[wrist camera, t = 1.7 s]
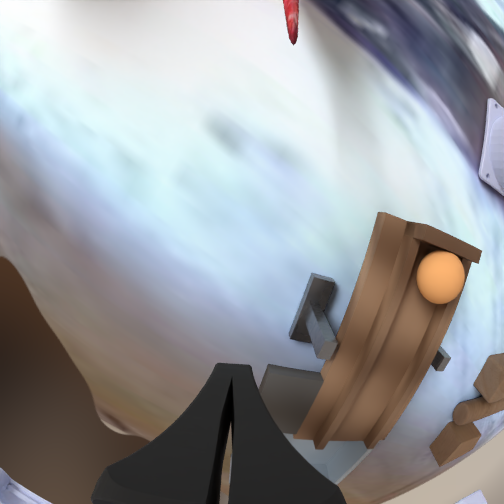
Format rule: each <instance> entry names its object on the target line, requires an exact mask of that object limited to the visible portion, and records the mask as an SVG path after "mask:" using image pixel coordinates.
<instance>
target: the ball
mask: <svg viewBox="0 0 504 504" xmlns="http://www.w3.org/2000/svg"><path fill="white" fill-rule="evenodd" d="M464 279H465V273H464V268H463V265H462V263H461V261H460V260H459V258H458V257H457V256H456V255H455V254H453V253H451V252H449V251H446V250H436V251H433V252H431V253H429V254H428V255H426V256H425V257H424V258H423V260H422V261H421V263H420V265H419V267H418V270H417V276H416V280H417V286H418V289H419V291H420V293H421V294H422V295H423V297H424V298H426V299H427V300H428V301H430V302H432V303H435V304H444V303H448V302H450V301H452V300H453V299H454V298H456V297H457V296H458V294H459V293H460V291H461V290H462V287H463V284H464Z"/></svg>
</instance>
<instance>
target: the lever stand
mask: <svg viewBox="0 0 504 504" xmlns="http://www.w3.org/2000/svg"><path fill="white" fill-rule="evenodd" d="M334 285H335V281H334V280H333V279H332V278H329V277H325V276H322V275H318V274H314V273H311V276H310V279H309V281H308V284H307V287H306V290H305V292H304V295H303V298H302V300H301V303H300V306H299V308H298V311H297V313H296V316H295V319H294V321H293V324H292V326H291V329H290V331H289V337H290V339H293V340H298V341H303V342H308V343H310V342H311V341H312V344H313V347H314V350H315V354H316V357H317V358H320V359H326V360H330V358H331V356H332V354H333V352H334V350H335V348H336V346H337V344H338V342H337V340H336V338H335V336H334V334H333V332H332V329H331V327H330V325H329V323H328V321H327V319H326V317H325V314H324V310H325V307H326V305H327V302H328V300H329V297H330V295H331V292H332V290H333V287H334ZM450 359H451V357H450V356H449V355H448V354H447V353H446V352H445V351H444V349H443V348H442V347H441V346H440V347H439V349H438V351H437V353H436V355H435V357H434V359H433V361H432V363H431V365H432V366H433V367H434V369H435V370H436V371H443V370H444V369H445V367H446V366H447V364H448V362H449V361H450Z"/></svg>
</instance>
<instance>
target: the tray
mask: <svg viewBox="0 0 504 504" xmlns="http://www.w3.org/2000/svg"><path fill="white" fill-rule="evenodd" d="M283 434H284V436H285V437H286V438H287V439H288V441H289V442H290V443H291V444H292V446H293V447H294V448H295V449H296V450H297V451H298V452H299V453H300V454H301V455H302V456H303V457H304V458H305V459H306V460H307V461H308V462H309V463H310V464H311V465H312V466H313V467H314V468H315V469H316V470H318V471H319V472H320V473H321V474H322V475H324V476H325V477H326V478H327V479H329V480H330V481H332V482H333V483H334V484H336V485H337V484H338V483H339V482H341V481H342V480H343V479H344V478H345V477H346V476H347V475H348V474H349V473H350V472H351V471H352V470H353V469H354V468H355V467H356V466H357V465H358V464H359V463H360V462H361V461H362V460H363V459H364V458H365V457H366V456H367V455H368V454H369V453H370V452H371V451H372V450H373V449H374V448H375V447H376V446H375V447H374V448H373V449H367V448H366V446H365V444H364V442H363V441H329V442H328V443H327V445H326V446H325V448H324V449H323V450H315V446H314V442H313V440H302V439H294V438H293V434H285V433H283ZM380 441H381V440H380ZM380 441H379V442H380ZM379 442H378V443H379ZM378 443H377V444H378ZM231 464H232V454H231V462H230V476H231ZM230 476H229V484H230Z"/></svg>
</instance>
